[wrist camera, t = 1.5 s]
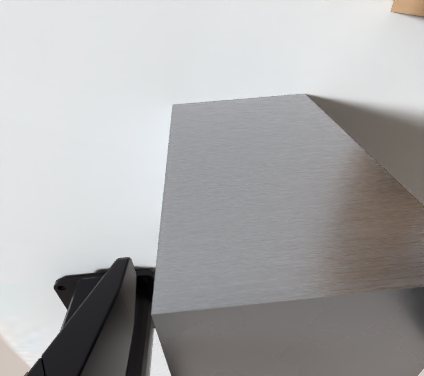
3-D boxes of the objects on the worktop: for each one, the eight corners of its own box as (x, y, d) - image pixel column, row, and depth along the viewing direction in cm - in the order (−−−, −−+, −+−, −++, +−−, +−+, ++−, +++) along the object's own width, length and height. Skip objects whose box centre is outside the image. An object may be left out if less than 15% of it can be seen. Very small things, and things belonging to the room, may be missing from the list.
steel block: (291, 197, 17) (391, 405, 8) (187, 207, 16) (188, 428, 8) (304, 93, 13) (500, 278, 5) (172, 104, 13) (150, 314, 5)
